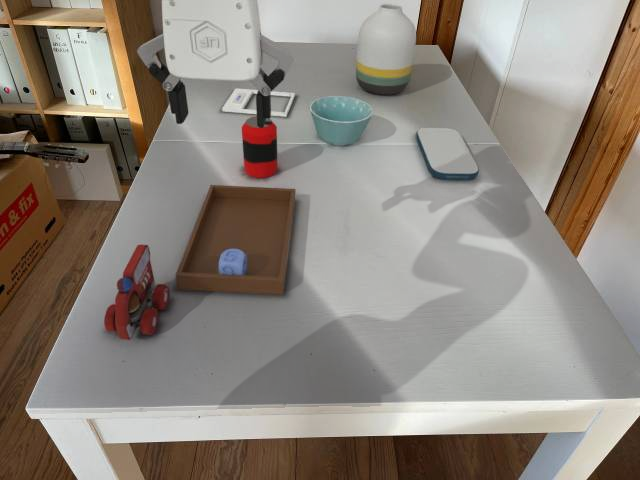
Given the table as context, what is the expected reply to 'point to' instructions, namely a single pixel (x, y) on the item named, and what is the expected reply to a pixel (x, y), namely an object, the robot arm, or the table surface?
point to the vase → (385, 51)
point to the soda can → (259, 148)
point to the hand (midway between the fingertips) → (222, 121)
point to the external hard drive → (446, 154)
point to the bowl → (340, 119)
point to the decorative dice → (233, 262)
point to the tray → (240, 240)
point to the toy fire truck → (136, 298)
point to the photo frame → (242, 97)
